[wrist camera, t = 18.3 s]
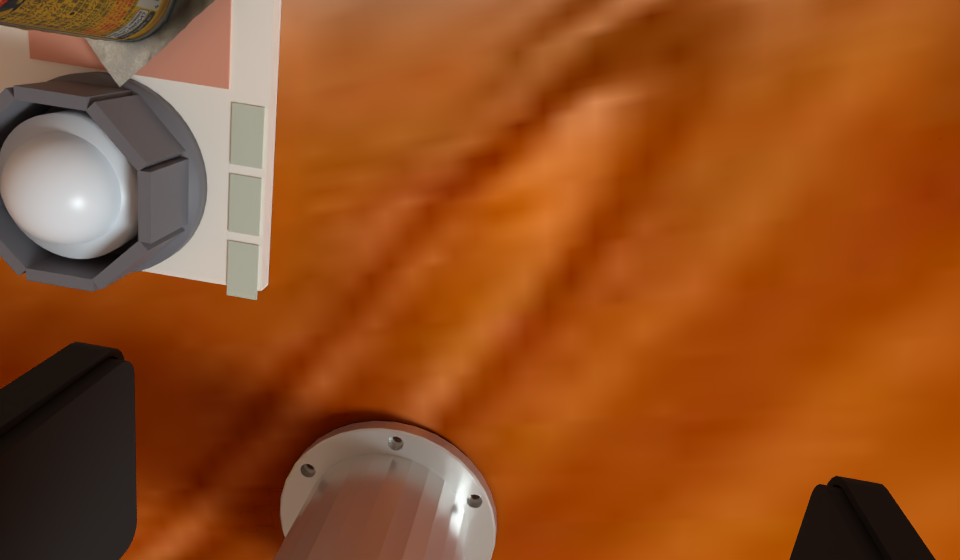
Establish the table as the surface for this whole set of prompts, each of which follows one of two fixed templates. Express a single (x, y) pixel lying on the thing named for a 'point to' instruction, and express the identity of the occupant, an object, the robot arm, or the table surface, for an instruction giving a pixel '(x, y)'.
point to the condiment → (108, 26)
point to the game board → (165, 145)
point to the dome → (69, 185)
